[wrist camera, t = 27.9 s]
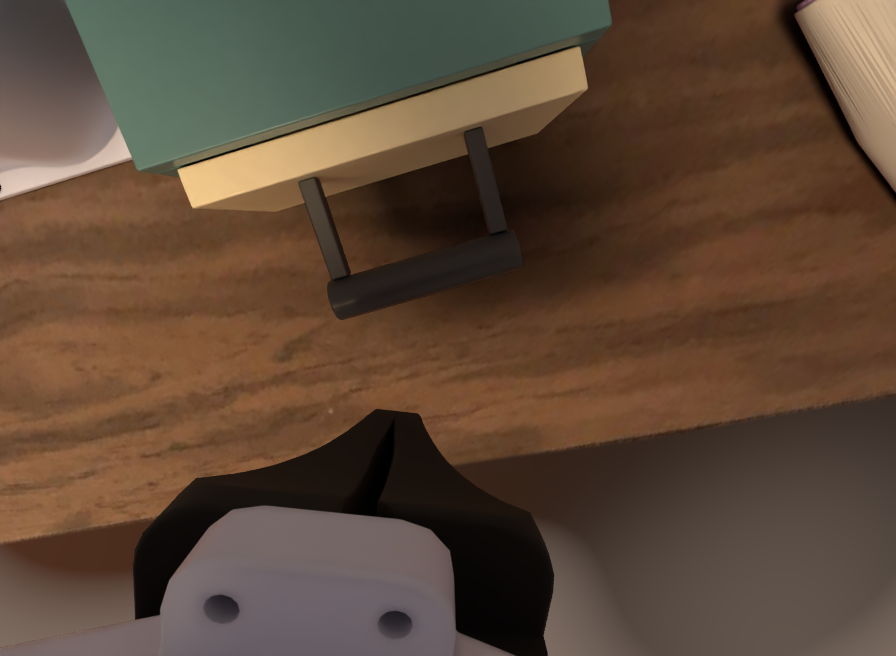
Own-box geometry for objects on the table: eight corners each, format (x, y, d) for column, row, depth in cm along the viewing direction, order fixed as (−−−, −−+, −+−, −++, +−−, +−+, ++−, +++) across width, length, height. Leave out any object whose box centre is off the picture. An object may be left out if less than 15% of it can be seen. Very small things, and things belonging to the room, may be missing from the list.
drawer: (561, 237, 21) (619, 246, 14) (309, 309, 22) (249, 351, 15) (463, -210, 17) (478, -495, 10) (158, -105, 18) (-19, -309, 11)
